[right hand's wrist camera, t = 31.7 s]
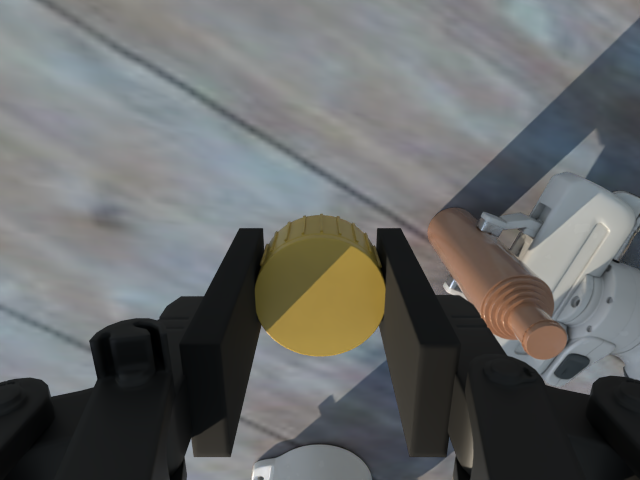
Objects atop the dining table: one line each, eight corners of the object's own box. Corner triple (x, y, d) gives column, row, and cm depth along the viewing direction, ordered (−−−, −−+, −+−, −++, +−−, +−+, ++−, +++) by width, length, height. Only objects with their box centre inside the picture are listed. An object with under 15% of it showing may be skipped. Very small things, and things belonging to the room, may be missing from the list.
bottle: (465, 258, 49) (565, 385, 29) (420, 246, 48) (491, 367, 28) (484, 214, 47) (604, 317, 27) (437, 201, 46) (525, 297, 26)
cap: (325, 187, 14) (326, 206, 12) (403, 273, 15) (417, 305, 13) (236, 265, 14) (222, 295, 12) (316, 340, 15) (315, 380, 13)
